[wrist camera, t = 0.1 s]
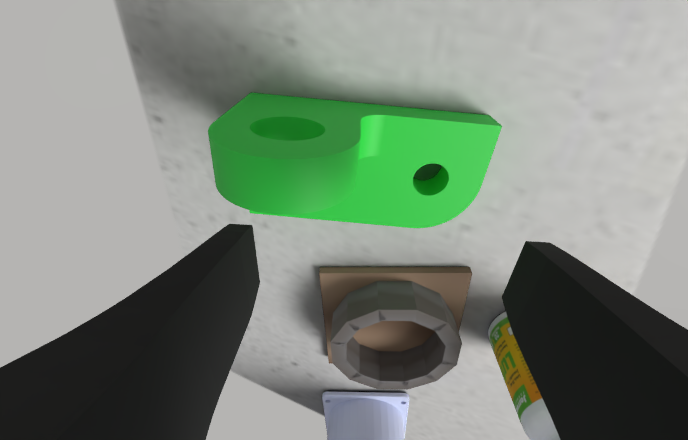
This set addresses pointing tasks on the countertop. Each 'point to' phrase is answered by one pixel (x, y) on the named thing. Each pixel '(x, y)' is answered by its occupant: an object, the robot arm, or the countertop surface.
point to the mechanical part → (349, 160)
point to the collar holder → (394, 322)
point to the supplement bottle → (520, 382)
